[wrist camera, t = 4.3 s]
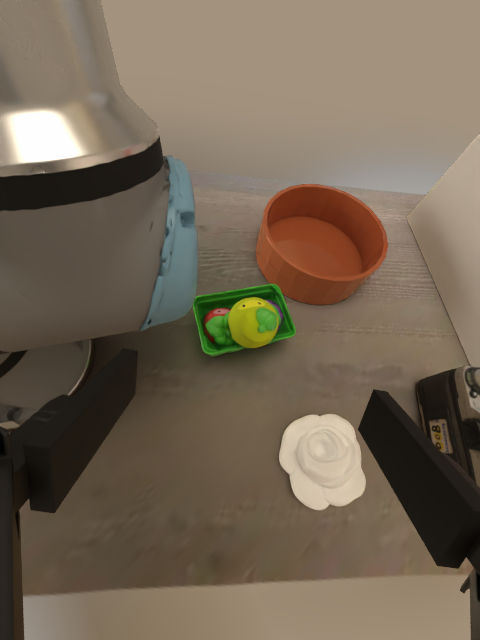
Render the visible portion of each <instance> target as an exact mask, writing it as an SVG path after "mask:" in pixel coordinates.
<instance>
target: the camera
mask: <svg viewBox="0 0 480 640" xmlns="http://www.w3.org/2000/svg"><path fill="white" fill-rule="evenodd" d="M417 396H418V402H419V409H420V413H421V416H422V423H423V430H424V433H425V435H426V436H427V437H428V438H429V439H430V440H431V441H432V442H433V443H434V445H435V446H436V447H437V448H438V449H439V450H440V451H441V452H443V453H445V454H446V455H448V456H449V457H450V458H451V459H453V460H454V461H455V462H457V463H458V464H459V466H460V467H461V468H462V469H463V470H464V471H465V472H466V473H467V474H468V476H470V477H471V478H472V480H473V481H474V482H475V483H476V485H477V486H479V487H480V367H473V366H463V367H460V368H457V369H452V370H448V371H445V372H442V373H439V374H436V375H433V376H430V377H427V378H424V379H421V380H420V381H418V383H417Z"/></svg>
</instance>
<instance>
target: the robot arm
mask: <svg viewBox="0 0 480 640" xmlns="http://www.w3.org/2000/svg"><path fill="white" fill-rule="evenodd" d="M194 223H195V203H194V195H193V189H192V184H191V179H190V175H189V172H188V169H187V167H186V165H185V164H184V162H183V161H181V160H180V159H175V158H173V156H163V155H162V148H161V143H160V136H159V131H158V126H157V125H156V123H155V122H154V121H153V120H152V119H151V118H150V117H149V116H148V115H146V113H145V112H144V111H143V110H142V109H140V108H139V106H138V105H137V104H136V103H135V102H134V101H133V100H132V99H131V98H130V97H129V96H128V95H127V94H126V92H125V91H124V89H123V88H122V86H121V85H120V82H119V78H118V73H117V69H116V65H115V61H114V56H113V52H112V48H111V43H110V39H109V35H108V30H107V26H106V22H105V18H104V13H103V9H102V5H101V0H0V640H24V622H23V592H22V564H21V536H20V514H19V509H20V508H21V507H22V506H23V504H24V503H25V502H26V501H27V500H28V498H29V500H30V508H31V510H35V511H42V512H49V513H55V512H56V510H57V509H58V507H59V506H60V504H61V503H62V501H63V500H64V498H65V497H66V495H67V494H68V493H69V491H70V490H71V488H72V487H73V485H74V484H75V482H76V481H77V479H78V478H79V476H80V475H81V473H82V472H83V470H84V469H85V468H86V466H87V465H88V463H89V462H90V460H91V459H92V457H93V456H94V454H95V453H96V451H97V450H98V448H99V447H100V445H101V444H102V442H103V441H104V440H105V438H106V437H107V435H108V434H109V432H110V431H111V429H112V428H113V426H114V425H115V423H116V422H117V420H118V419H119V417H120V416H121V415H122V413H123V412H124V410H125V409H126V407H127V406H128V404H129V403H130V401H131V400H132V398H133V397H134V395H135V390H136V371H137V352H138V351H135V350H129V349H122V350H121V351H120V352H119V353H118V354H117V355H116V356H115V357H114V358H113V359H112V360H111V361H110V362H109V363H108V364H107V365H105V366H104V367H103V368H102V369H101V370H100V371H99V372H98V373H97V374H96V375H95V376H94V377H93V378H92V379H91V380H90V381H89V382H88V383H86V384H85V385H84V386H83V387H82V385H83V384H84V382H85V381H86V379H87V377H88V375H89V372H90V370H91V367H92V364H93V359H94V340H93V338H98V337H103V336H109V335H115V334H121V333H126V332H132V331H143V330H146V329H148V327H151V326H155V325H159V324H163V323H167V322H171V321H175V320H178V319H180V318H182V317H183V316H185V315H186V314H187V313H188V312H189V311H190V309H191V307H192V306H193V303H194V300H195V296H196V289H197V278H198V242H197V231H196V228H195V225H194ZM81 387H82V388H81ZM80 388H81V389H80ZM9 430H15V431H13V432H12V433H11V434H10V435H9V434H8V432H7V431H9ZM358 430H359V432H360V433H361V435H362V437H363V439H364V440H365V442H366V444H367V446H368V447H369V449H370V451H371V452H372V454H373V456H374V458H375V459H376V461H377V463H378V464H379V466H380V468H381V470H382V471H383V473H384V475H385V477H386V478H387V480H388V482H389V483H390V485H391V487H392V489H393V490H394V492H395V494H396V496H397V497H398V499H399V501H400V502H401V504H402V506H403V508H404V509H405V511H406V513H407V515H408V516H409V518H410V520H411V521H412V523H413V525H414V527H415V528H416V530H417V532H418V534H419V535H420V537H421V539H422V540H423V542H424V544H425V546H426V547H427V549H428V551H429V552H430V554H431V556H432V558H433V559H434V561H435V563H436V565H437V566H443V567H450V568H457V569H458V568H459V567H460V565H461V564H462V562H463V561H464V559H465V558H466V557H467V558H468V560H469V561H470V563H471V564H472V566H473V567H474V569H473V571H472V572H471V573H470V575H469V576H468V578H467V579H466V580H465V582H464V583H463V585H462V586H461V589H460V591H461V592H463V593H465V591H466V590H467V589H470V611H471V612H470V615H471V640H480V487H479V486H477V485H476V483H475V482H474V481H473V480H472V478H471V477H470V476H468V474H467V473H466V472H465V471H464V470H463V469H462V468H461V467H460V466H459V464H458V463H457V462H455V461H454V460H453V459H451V458H450V457H449V456H448V455H446V454H445V453H443V452H441V451H440V450H439V449H438V448H437V447H436V446H435V445H434V443H433V442H432V441H431V440H430V439H429V438H428V437H427V436H426V435H425V433H424V432H423V431H422V430H421V429H420V428H419V427H418V426H417V425H416V423H415V422H414V421H413V420H412V419H411V418H410V417H409V416H408V415H407V413H406V412H405V411H404V410H403V409H402V408H401V407H400V406H399V405H398V403H397V402H396V401H395V400H394V399H393V398H392V397H391V396H390V395H389V393H388V392H387V391H380V390H373V392H372V395H371V397H370V400H369V402H368V405H367V407H366V410H365V413H364V415H363V418H362V420H361V423H360V425H359V428H358Z"/></svg>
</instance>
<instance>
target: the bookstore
mask: <svg viewBox="0 0 480 640" xmlns="http://www.w3.org/2000/svg"><path fill="white" fill-rule="evenodd" d="M406 218H407V220H408V223H409V225H410V227H411V229H412V232H413V234H414V236H415V239H416V241H417V243H418V246H419V248H420V250H421V252H422V255H423V257H424V259H425V262H426V264H427V266H428V269H429V271H430V273H431V276H432V278H433V280H434V282H435V285H436V287H437V289H438V292H439V294H440V296H441V299H442V301H443V303H444V305H445V308H446V310H447V312H448V315H449V317H450V319H451V322H452V324H453V326H454V329H455V331H456V333H457V335H458V338H459V340H460V342H461V345H462V347H463V349H464V352H465V354H466V356H467V358H468V361H469V363H470V365H471V366H473V367H480V134H479V135H478V136H477V137H476V138H475V140H473V142H472V143H471V144H470V145H469V146H468V147H467V149H466V150H465V151H464V152H463V153H462V154H461V155H460V157H459V158H458V159H457V160H456V161H455V162H454V163H453V165H452V166H451V167H450V168H449V169H448V170H447V171H446V173H445V174H444V175H443V176H442V177H441V178H440V180H439V181H438V182H437V183H436V184H435V185H434V186H433V187H432V189H431V190H430V191H429V192H428V193H427V194H426V195H425V197H424V198H423V199H422V200H421V201H420V202H419V204H418V205H417V206H416V207H415V208H414V209H413V210H412V212H411V213H410V214H409V215H408V216H407V217H406Z"/></svg>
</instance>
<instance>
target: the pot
mask: <svg viewBox="0 0 480 640" xmlns="http://www.w3.org/2000/svg"><path fill="white" fill-rule="evenodd" d="M387 248H388V242H387V236H386V232H385V230H384V228H383V225H382V223H381V221H380V220H379V219H378V217H377V216H376V215H375V214H374V212H373V211H372V210H371V209H370V208H369V207H367V206H366V205H365V204H364V203H363V202H361V201H360V200H359V199H357V198H355V197H354V196H352V195H350V194H348V193H346V192H344V191H341V190H338V189H336V188H333V187H328V186H323V185H318V184H302V185H296V186H291V187H288V188H286V189H284V190H282V191H280V192H278V193H277V194H276V195H275V196H274V197H273V198H271V199H270V200H269V202H268V204H267V206H266V208H265V210H264V213H263V217H262V222H261V226H260V230H259V234H258V238H257V244H256V259H257V263H258V266H259V268H260V270H261V272H262V274H263V275H264V277H265V278H266V279H267V280H268V282H269V283H270V284H276V285H277V286H279V288H280V290H281V292H282V293H283V294H284V295H286V296H288V297H290V298H292V299H294V300H297V301H300V302H303V303H307V304H314V305H327V304H333V303H337V302H340V301H342V300H345V299H346V298H348V297H350V296H351V295H352V294H353V293H354V292H356V291H357V290H358V289H359V288H360V287H361V286H362V285H363V284H364V283H365V282H366V280H367V279H368V278H369V277H370V276H371V275H372V274H373V273H374V272H375V271H376V270H377V269H378V268H379V267H380V265H381V264H382V262H383V261H384V259H385V257H386V253H387Z"/></svg>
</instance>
